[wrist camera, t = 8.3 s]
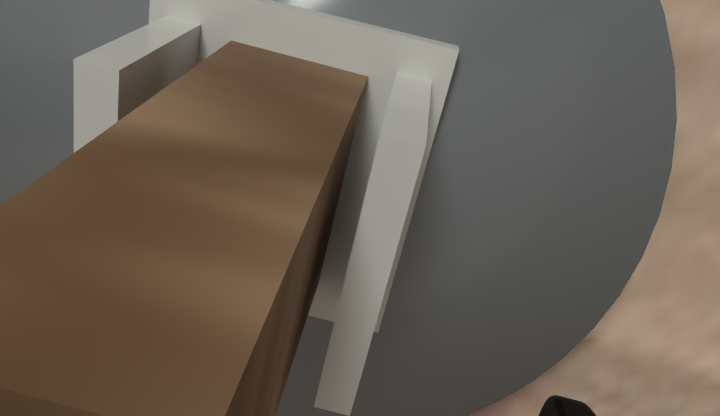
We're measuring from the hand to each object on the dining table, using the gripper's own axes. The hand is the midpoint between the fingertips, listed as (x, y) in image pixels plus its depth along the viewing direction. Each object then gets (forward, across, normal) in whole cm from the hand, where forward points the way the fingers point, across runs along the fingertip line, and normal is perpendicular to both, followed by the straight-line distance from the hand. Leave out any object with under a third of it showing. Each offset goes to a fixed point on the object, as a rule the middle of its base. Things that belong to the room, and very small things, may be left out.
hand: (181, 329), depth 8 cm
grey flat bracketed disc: (+6, 0, 0) cm, 6 cm away
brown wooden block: (+5, 0, 0) cm, 5 cm away
